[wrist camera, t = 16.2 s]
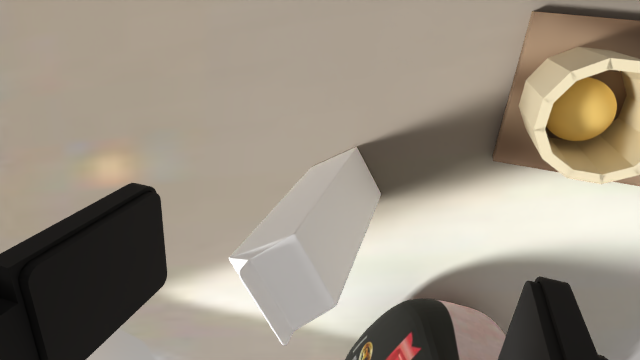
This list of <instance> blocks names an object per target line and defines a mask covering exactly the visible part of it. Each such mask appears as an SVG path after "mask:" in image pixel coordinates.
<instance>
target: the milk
mask: <svg viewBox="0 0 640 360" xmlns="http://www.w3.org/2000/svg"><path fill="white" fill-rule="evenodd" d="M380 196H381V192H380V191H379V189H378V187H377V185H376V183H375V181H374V179H373V177H372V175H371V173H370V171H369V169H368V167H367V165H366V163H365V162H364V160H363V158H362V156H361V154H360V152H359V150H358V148H357V147H355V148H353V149H350V150H348V151H346V152H344V153H341V154H339V155H337V156H335V157H332V158H330V159H328V160H326V161H323V162H321V163H319V164H317V165H314V166H312V167H311V168H310V169H309V170H308V171H307V172H306V173H305V174H304V175H303V176H302V178H301V179H300V180H299V181H298V182H297V183H296V184H295V185H294V186H293V187H292V189H291V190H290V191H289V192H288V193H287V194H286V195H285V196H284V197H283V198H282V200H281V201H280V202H279V203H278V204H277V205H276V206H275V207H274V208H273V210H272V211H271V212H270V213H269V214H268V215H267V216H266V217H265V218H264V219H263V221H262V222H261V223H260V224H259V225H258V226H257V227H256V228H255V229H254V230H253V232H252V233H251V234H250V235H249V236H248V237H247V238H246V239H245V240H244V241H243V243H242V244H241V245H240V246H239V247H238V248H237V249H236V250H235V251H234V253H233V254H232V255H231V256H230V257H229V260H230V262H231V263H232V265H233V267H234V268H235V270H236V271H237V273H238V274H239V277H240V279H241V281H242V282H243V284H244V285H245V287H246V289H247V290H248V292H249V293H250V295H251V296H252V298H253V300H254V301H255V303H256V304H257V306H258V307H259V309H260V311H261V312H262V314H263V315H264V317H265V319H266V320H267V322H268V323H269V325H270V326H271V328H272V330H273V331H274V333H275V334H276V336H277V337H278V339H279V341H280V342H281V344H282V345H287V344H288V342H289V340H290V338H291V336H292V334H293V332H294V331H295V330H297V329H299V328H300V327H302V326H304V325H305V324H307V323H309V322H310V321H312V320H314V319H315V318H317V317H319V316H320V315H322V314H324V313H325V312H327V311H329V310H330V309H332V308H334V307H335V306H336V305H337V303H338V300H339V298H340V295H341V293H342V290H343V288H344V285H345V283H346V280H347V278H348V276H349V273H350V271H351V268H352V266H353V263H354V261H355V258H356V256H357V253H358V251H359V248H360V246H361V243H362V241H363V238H364V236H365V233H366V231H367V228H368V226H369V223H370V221H371V219H372V216H373V214H374V211H375V209H376V206H377V204H378V201H379V199H380Z"/></svg>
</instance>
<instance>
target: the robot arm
mask: <svg viewBox="0 0 640 360" xmlns="http://www.w3.org/2000/svg"><path fill="white" fill-rule="evenodd" d="M166 278H167V266H166V255H165V244H164V233H163V222H162V210H161V200H160V196H159V195H158V194H157V193H156V191H155V189H154V188H153V187H150V186H145V185H141V184H137V183H130V184H128V185H126V186H124V187H122V188H121V189H119V190H117V191H115V192H113V193H111V194H110V195H108V196H106V197H104V198H102V199H100V200H99V201H97V202H95V203H93V204H91V205H89V206H87V207H86V208H84V209H82V210H80V211H78V212H76V213H75V214H73V215H71V216H69V217H67V218H65V219H64V220H62V221H60V222H58V223H56V224H54V225H52V226H51V227H49V228H47V229H45V230H43V231H41V232H40V233H38V234H36V235H34V236H32V237H30V238H29V239H27V240H25V241H23V242H21V243H19V244H18V245H16V246H14V247H12V248H10V249H8V250H6V251H5V252H3V253H1V254H0V360H85V359H87V358H88V357H89V356H90V355H91V354H92V353H93V352H94V351H95V350H96V349H97V348H98V347H99V346H100V345H101V344H103V343H104V342H105V341H106V340H107V339H108V338H109V337H110V336H111V335H112V334H113V333H114V332H115V331H116V330H117V329H118V328H119V327H120V326H121V325H123V324H124V323H125V322H126V321H127V320H128V319H129V318H130V317H131V316H132V315H133V314H134V313H135V312H136V311H137V310H138V309H139V308H140V307H141V306H142V305H144V304H145V303H146V302H147V301H148V300H149V299H150V298H151V297H152V296H153V295H154V294H155V293H156V292H157V291H158V290H159V289H160V288H161V287H162V286H163V285H164V283H165V281H166ZM498 360H608V359H607V358H605V357H604V356H601V355H598V354H597V352H596V349H595V347H594V344H593V342H592V339H591V337H590V335H589V332H588V330H587V327H586V325H585V322H584V320H583V317H582V315H581V312H580V310H579V307H578V305H577V302H576V300H575V297H574V295H573V292H572V290H571V287H570V285H569V284H568V283H565V282H561V281H557V280H552V279H548V278H544V277H537V279H536V280H535V282H532V281H527V282H526V283H525V285H524V288H523V290H522V293H521V296H520V299H519V301H518V304H517V307H516V310H515V313H514V315H513V318H512V321H511V324H510V327H509V329H508V332H507V335H506V338H505V340H504V343H503V346H502V349H501V352H500V354H499V357H498Z"/></svg>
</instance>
